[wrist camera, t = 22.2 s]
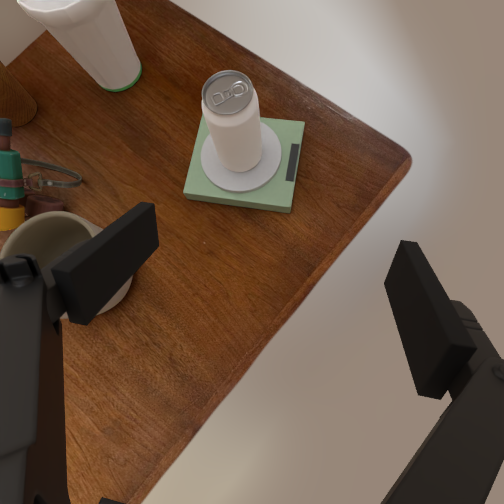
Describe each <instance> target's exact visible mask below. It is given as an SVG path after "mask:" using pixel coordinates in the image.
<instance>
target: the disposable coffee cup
mask: <svg viewBox="0 0 504 504" xmlns="http://www.w3.org/2000/svg"><path fill="white" fill-rule="evenodd" d="M36 111H37V104H36V102H35V100H34V99H33V98H32V97H31V96H30V95H29V93H28V92H27V91H26V90H25V89H24V88H23V87H22V85H21V84H20V83H19V82H18V81H17V80H16V78H15V77H14V76H13V75H12V74H11V73H10V72H9V71H8V69H7V68H6V67H5V66H4V65H3V64H2V63H1V61H0V118H7V119H10V120H12V126H15V127H17V126H22V125H25V124H27V123H28V122H29V121H31V120H32V119H33V117H34V116H35V114H36Z"/></svg>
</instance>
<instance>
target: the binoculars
mask: <svg viewBox="0 0 504 504" xmlns="http://www.w3.org/2000/svg"><path fill="white" fill-rule="evenodd" d="M10 136H12V120H10V119H7V118H0V231H5V230H12V229H15V228H18V227H19V226H20V225H21V224H23V223H24V222H25V219H28V218H32V217H34V216H36V215H39V214H42V213H46V212H51V211H63V205H64V203H63V202H62V201H61V200H58V199H55V198H52V197H47V196H41V195H35V192H34V191H32V190H35V191H41V190H42V186H52V187H53V186H54V187H62V188H72V187H78V186H80V185H81V183H82V177H81V175H80V174H78V173H76V172H74V171H72V170H69V169H67V168H64V167H61V166H57V165H54V164H50V163H46V162H42V161H36V160H31V159H24V158H20V153H19V152H18V151H15V150H12V149H10ZM21 163H23V164H30V165H36V166H41V167H45V168H50V169H53V170H57V171H60V172H63V173H66V174H69V175H71V176H74V177H76V178H77V179H79V180H78V181H74V182H61V181H54V180H47V179H42V174H41V173H39V172H36V173H33V174H29V176H28V178H24V179H23V176H22V167H21ZM36 175H39V179H38V186H39V189H38V188H34V187H32V186H33V182H32V179H31V177H32V176H36ZM24 186H28V187H29V188H30V189H32V190H30V189H27V188H24ZM25 213H26V214H27V215H28V216H25Z"/></svg>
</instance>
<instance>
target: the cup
mask: <svg viewBox="0 0 504 504" xmlns="http://www.w3.org/2000/svg"><path fill="white" fill-rule="evenodd" d="M17 2H18V4H19V5H20V6H21V7H22V8H23V10H24V11H25V12H26V13H27V14H28V15H29V16H30V17H32V18H33V19H35V20H36V21H38V22H39V23H41V24H42V25H44V27H45V28H46V29H47V30H48V31H49V32H50V33H51V34H52V35H53V36H54V37H55V38H56V39H57V41H58V42H59V43H60V44H61V45H62V46H63V47H64V48H65V49H66V50H67V51H68V52H69V53H70V54H71V55H72V56H73V58H74V59H75V60H76V61H77V62H78V63H79V64H80V65H81V66H82V67H83V68H84V69H85V70H86V71H87V72H88V73H89V74H90V76H91V77H92V78H93V79H94V80H95V81H96V82H97V83H98V84H99V85H100V86H101V87H102V88H104V89H105V90H108V91H112V92H118V91H123V90H126V89H128V88H130V87H131V86H133V85H134V84H135V83H136V81H137V80H138V79H139V77H140V75H141V72H142V67H141V63H140V61H139V59H138V57H137V55H136V53H135V50H134V48H133V45H132V43H131V40H130V38H129V35H128V33H127V30H126V28H125V25H124V23H123V20H122V18H121V15H120V13H119V10H118V8H117V5H116V3H115V0H17Z"/></svg>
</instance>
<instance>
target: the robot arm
mask: <svg viewBox="0 0 504 504" xmlns="http://www.w3.org/2000/svg"><path fill="white" fill-rule="evenodd" d="M158 247H159V240H158V231H157V223H156V214H155V206H154V203H147V202H140V203H139V204H137V205H136V206H135V207H133V208H132V209H131V210H129V211H128V212H127V213H125V214H124V215H123V216H121V217H120V218H119V219H117V220H116V221H114V222H113V223H112V224H110V225H109V226H108V227H106V228H105V229H104V230H102V231H101V232H100V233H98V234H97V235H96V236H94V237H93V238H91V239H90V240H89V239H87V240H85V241H82V242H80V243H77V244H75V245H74V246H73V247H71V248H70V249H68V251H66V252H64V253H63V254H61V256H59V257H57V258H56V259H54V260H53V261H52V262H50V263H49V264H47V265H46V266H45V267H43V268H42V269H40V268H39V265H38V263H37V260H36V258H35V256H34V255H32V254H26V253H22V254H14V255H11V256H7V257H5V258H2V259H0V504H71V502H70V499H69V495H68V489H67V466H66V435H65V405H64V374H63V344H62V323H61V321H60V317H61V316H62V315H63V314H64V313H65V312H67V315H68V318H69V321H70V322H72V323H76V324H81V325H86V326H87V325H88V324H89V323H90V322H91V320H92V319H93V318H94V317H95V316H96V315H97V314H98V313H99V312H100V311H101V309H102V308H103V307H104V306H105V305H106V304H107V303H108V302H109V301H110V300H111V298H112V297H113V296H114V295H115V294H116V293H117V292H118V291H119V290H120V289H121V287H122V286H123V285H124V284H125V283H126V282H127V281H128V280H129V279H130V278H131V276H132V275H133V274H134V273H135V272H136V271H137V270H138V269H139V268H140V267H141V265H142V264H143V263H144V262H145V261H146V260H147V259H148V258H149V257H150V256H151V254H152V253H153V252H154V251H155V250H156V249H157V248H158ZM384 285H385V289H386V292H387V295H388V298H389V302H390V305H391V308H392V311H393V315H394V318H395V321H396V325H397V328H398V331H399V334H400V338H401V341H402V344H403V348H404V351H405V354H406V357H407V361H408V364H409V367H410V371H411V374H412V377H413V380H414V384H415V387H416V390H417V393H418V395H420V396H425V397H429V398H434V399H439V400H441V399H442V397H443V396H444V394H445V393H446V392H447V390H448V391H449V393H450V396H451V398H452V402H451V403H450V404H449V406H448V407H447V409H446V410H445V411H444V412H443V414H442V415H441V416H440V419H439V420H438V422H437V423H436V425H435V426H434V427H433V429H432V430H431V432H430V433H429V435H428V436H427V438H426V439H425V440H424V442H423V443H422V445H421V446H420V448H419V449H418V450H417V452H416V453H415V455H414V456H413V458H412V459H411V461H410V462H409V463H408V465H407V466H406V468H405V469H404V471H403V472H402V473H401V475H400V476H399V478H398V479H397V481H396V482H395V484H394V485H393V487H392V488H391V489H390V491H389V492H388V494H387V495H386V497H385V498H384V499H383V501H382V502H381V504H485V501H486V499H487V497H488V495H489V492H490V490H491V488H492V485H493V483H494V481H495V479H496V476H497V474H498V472H499V469H500V467H501V464H502V462H503V460H504V360H503V359H501V357H500V356H499V354H498V353H497V351H496V349H495V348H494V346H493V345H492V343H491V341H490V340H489V338H488V337H487V335H486V334H485V332H484V331H482V330H483V329H482V327H481V326H480V324H479V323H477V320H476V318H475V316H474V315H473V313H472V312H471V310H470V309H468V308H467V307H466V306H465V305H464V304H463V303H462V302H460V301H455V300H450V299H449V297H448V296H447V294H446V292H445V290H444V289H443V287H442V285H441V283H440V282H439V280H438V278H437V276H436V275H435V273H434V271H433V269H432V268H431V266H430V264H429V262H428V261H427V259H426V257H425V255H424V254H423V252H422V250H421V248H420V247H419V245H418V243H417V242H411V241H404V240H401V241H400V244H399V247H398V249H397V251H396V254H395V257H394V259H393V262H392V264H391V267H390V269H389V272H388V274H387V277H386V279H385V282H384ZM99 504H124V503H121V502H117V501H114V500H110V499H107V498H103V497H102V498H101V500H100V502H99Z"/></svg>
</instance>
